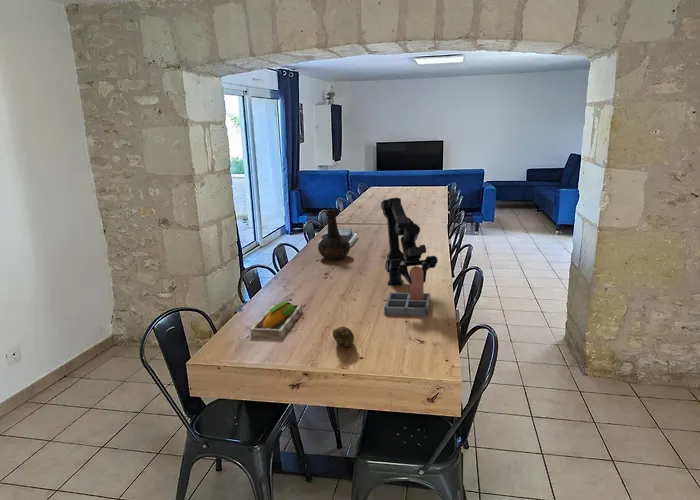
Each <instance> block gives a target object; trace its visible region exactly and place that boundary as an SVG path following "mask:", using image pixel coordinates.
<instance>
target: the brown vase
mask: <svg viewBox="0 0 700 500" xmlns="http://www.w3.org/2000/svg"><path fill="white" fill-rule="evenodd" d="M336 212H337V211H336V209H334V208H328V209H327V210H326V213H325V214H326V215H327V230H328V233H327V236H326V237H325V238H323V239H322V238H321V239H322V240H321V239H320V240H321V241H320V240H319V241H320V242H319V241H318V242H319V245H318V246H317V249H318V252H319V255H321V257H323V258H324V259H325V260H329V261H335V260H336V261H337V260H341V259H344V258H345V257H346V256H347V255H348V254H349V253H350V250H351V249H350V248H351V247H350V243H349V241H348V240H347V239H346V238H344V237H342V236H341V235H340V234H339V231H338V224H337V218H336Z"/></svg>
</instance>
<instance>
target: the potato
mask: <svg viewBox="0 0 700 500" xmlns="http://www.w3.org/2000/svg"><path fill="white" fill-rule="evenodd" d="M332 337H333V339H334V341H335V343H336V344H337V345H338V347H344V348H347V347H350V346H351V345H352V344H353V343H354V342H355V341H354V340H355V335H354V332H353V331H352V330H351V329H350V328H348V327H347V326H338V327H336V328H335V329H333V331H332Z"/></svg>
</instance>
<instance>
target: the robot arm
mask: <svg viewBox="0 0 700 500" xmlns="http://www.w3.org/2000/svg"><path fill="white" fill-rule="evenodd" d="M380 209H381V210H382V215H383V216H384V217H385V218H386V221H387V222H386V223H387V233H388V243H389V245H388V246H389V251H388V253H387V255H386V260H385V264H384V269H385V271H386V272H387V273H388V282H387V285H389V286H391V285H392V286H393V285H394V286H395V285H396V286H401V285H403V282H404V279H406V281H407V282H408V284H409V285H410V284H411V280H410V272H409V269H408V267H415V266H421V268H422V270H423V274H424V284H425V283H426V278H427V271H428V270H429V269H434V268H436V266H437V263H438V262H439V260H438V257H437V256H436V255H428V256H426V257H425V259H422V256H423V254H426V253H427V248H426V244H421V245H419V246H417V244H416V241H417V240H418V237H419V234H420V232H421V228H420V226H419V225H418V223H415V222H414V220H412V219H411V218H410V217H408V216H407V215H406V212H405V210H404V207H403V205H402V199H401V198H400V197H390V198H388V199H383V201H381V202H380ZM399 236H402V237H401V238H400V240H399ZM400 244H401V248H402V250H401V248H400ZM402 277H403V278H404V279H402Z"/></svg>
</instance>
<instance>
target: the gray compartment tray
mask: <svg viewBox="0 0 700 500" xmlns="http://www.w3.org/2000/svg"><path fill="white" fill-rule="evenodd" d="M385 301H386V302H385V304H384V307H383V309H384V315H387V316H412V317H428V316H429V312H430V311H429V310H430V302H431V293H429V292H428V293H427V292H426V293H425V292H424V299H422V300H418V301H416V300H411V299H410V292H389V294H388V297H387V299H386V300H385Z"/></svg>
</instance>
